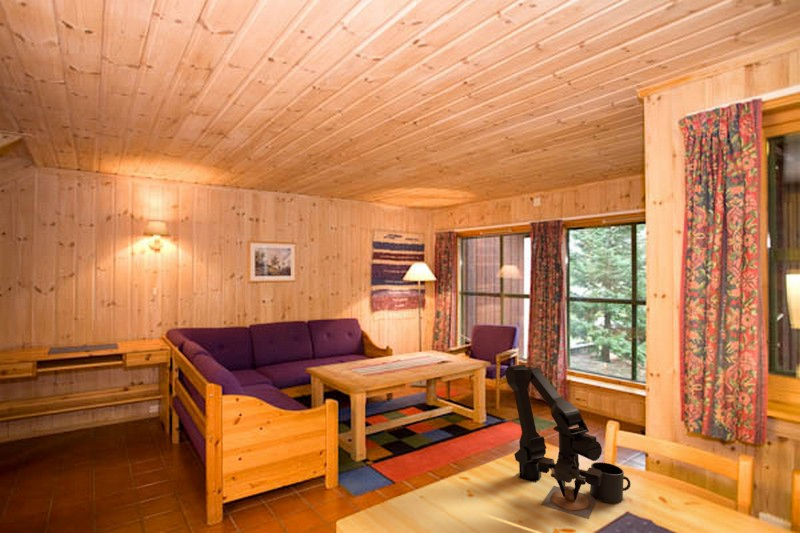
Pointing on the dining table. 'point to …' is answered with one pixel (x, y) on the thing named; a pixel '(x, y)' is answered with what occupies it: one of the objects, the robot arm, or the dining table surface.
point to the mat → (581, 513)
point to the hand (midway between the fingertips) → (569, 497)
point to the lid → (570, 500)
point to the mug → (609, 483)
